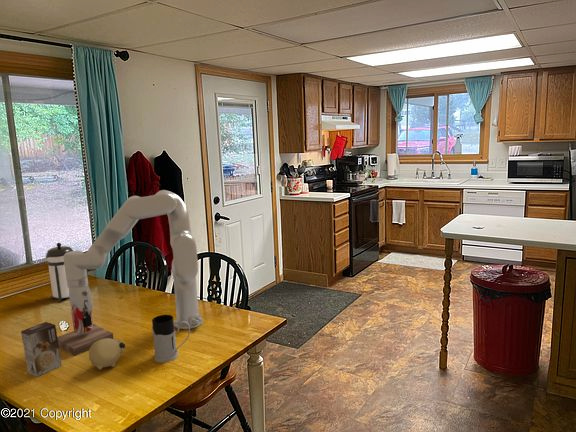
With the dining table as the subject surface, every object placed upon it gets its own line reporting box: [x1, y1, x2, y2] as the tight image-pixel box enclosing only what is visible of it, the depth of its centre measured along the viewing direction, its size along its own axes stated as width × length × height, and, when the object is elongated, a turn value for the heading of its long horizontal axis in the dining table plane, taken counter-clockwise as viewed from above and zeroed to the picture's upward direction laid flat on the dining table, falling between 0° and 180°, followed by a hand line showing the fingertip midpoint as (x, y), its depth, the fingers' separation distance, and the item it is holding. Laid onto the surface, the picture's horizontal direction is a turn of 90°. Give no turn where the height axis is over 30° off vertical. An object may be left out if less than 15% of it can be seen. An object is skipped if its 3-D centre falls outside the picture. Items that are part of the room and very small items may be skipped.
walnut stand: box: [57, 323, 115, 357], centre depth 173 cm, size 16×16×3 cm
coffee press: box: [44, 242, 89, 303], centre depth 226 cm, size 17×16×30 cm
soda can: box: [71, 305, 94, 334], centre depth 172 cm, size 7×7×12 cm
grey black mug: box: [151, 314, 191, 363], centre depth 158 cm, size 9×14×15 cm, turn 88°
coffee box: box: [20, 321, 63, 378], centre depth 152 cm, size 9×6×16 cm
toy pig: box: [88, 338, 126, 370], centre depth 153 cm, size 10×12×11 cm
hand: (83, 323), depth 172 cm, fingers closed on soda can, 6 cm apart
